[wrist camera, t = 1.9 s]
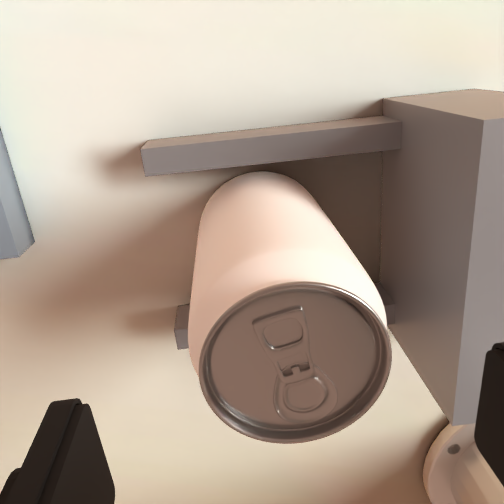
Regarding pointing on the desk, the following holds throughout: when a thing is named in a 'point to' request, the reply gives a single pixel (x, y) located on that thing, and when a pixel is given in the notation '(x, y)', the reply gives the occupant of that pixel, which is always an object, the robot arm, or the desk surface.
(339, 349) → the can
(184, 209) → the desk surface
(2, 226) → the tray
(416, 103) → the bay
